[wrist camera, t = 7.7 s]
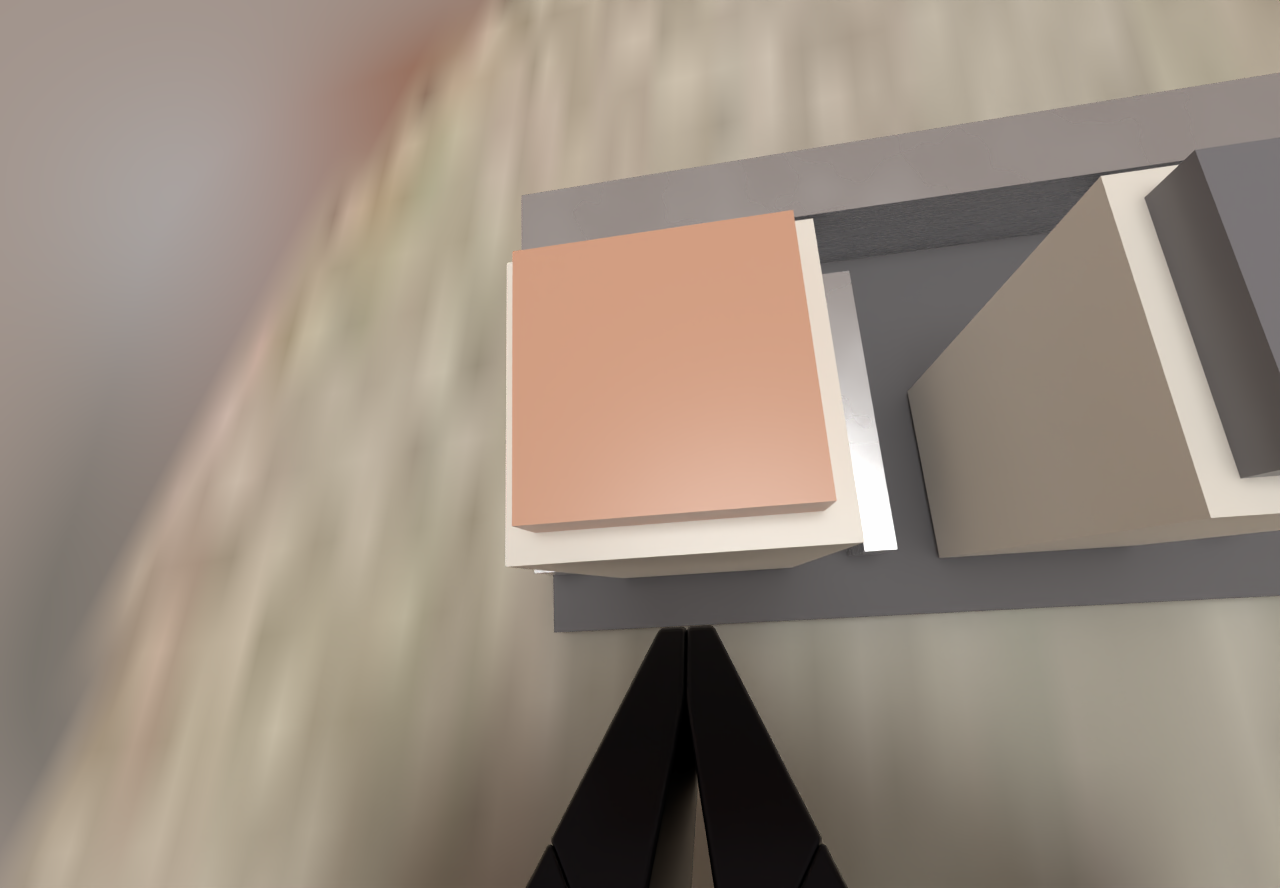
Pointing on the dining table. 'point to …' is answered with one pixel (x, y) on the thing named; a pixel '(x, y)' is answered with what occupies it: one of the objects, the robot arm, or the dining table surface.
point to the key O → (675, 404)
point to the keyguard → (916, 205)
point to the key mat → (923, 500)
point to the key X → (1120, 372)
